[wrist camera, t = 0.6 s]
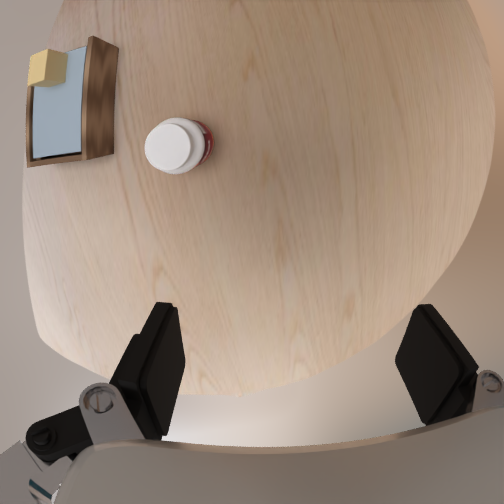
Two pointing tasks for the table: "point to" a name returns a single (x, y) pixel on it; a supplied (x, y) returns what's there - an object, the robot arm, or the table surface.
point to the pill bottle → (178, 145)
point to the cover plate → (57, 101)
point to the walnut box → (87, 107)
